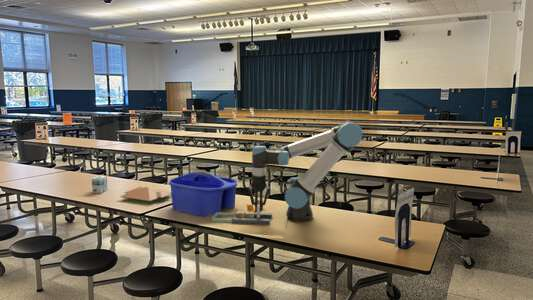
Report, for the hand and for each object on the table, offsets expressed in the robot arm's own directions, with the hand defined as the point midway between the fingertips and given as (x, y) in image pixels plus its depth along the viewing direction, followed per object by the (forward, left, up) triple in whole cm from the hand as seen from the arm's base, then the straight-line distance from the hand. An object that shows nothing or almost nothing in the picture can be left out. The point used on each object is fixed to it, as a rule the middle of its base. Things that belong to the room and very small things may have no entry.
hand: (258, 217), depth 204 cm
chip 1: (+10, 0, -2) cm, 10 cm away
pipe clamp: (+4, -17, -4) cm, 18 cm away
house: (+83, -38, -4) cm, 92 cm away
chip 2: (+5, 0, -2) cm, 5 cm away
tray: (+20, 0, -3) cm, 20 cm away
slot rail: (+3, 0, -3) cm, 5 cm away
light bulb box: (+124, -51, -3) cm, 134 cm away
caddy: (+38, -23, -4) cm, 45 cm away
